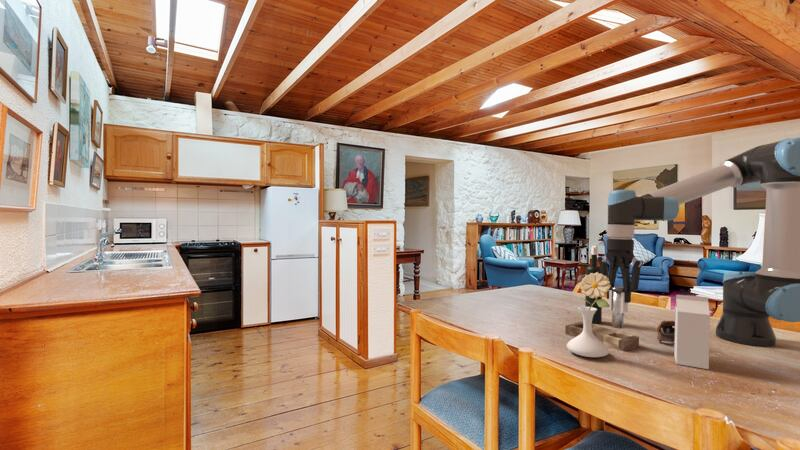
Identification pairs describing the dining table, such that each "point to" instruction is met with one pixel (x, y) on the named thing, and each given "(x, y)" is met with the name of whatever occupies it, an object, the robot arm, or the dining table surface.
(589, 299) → the wine bottle
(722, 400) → the dining table surface
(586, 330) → the flower in vase
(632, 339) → the wooden compartment tray
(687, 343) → the milk carton
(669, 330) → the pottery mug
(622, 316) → the steel pin
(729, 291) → the robot arm
